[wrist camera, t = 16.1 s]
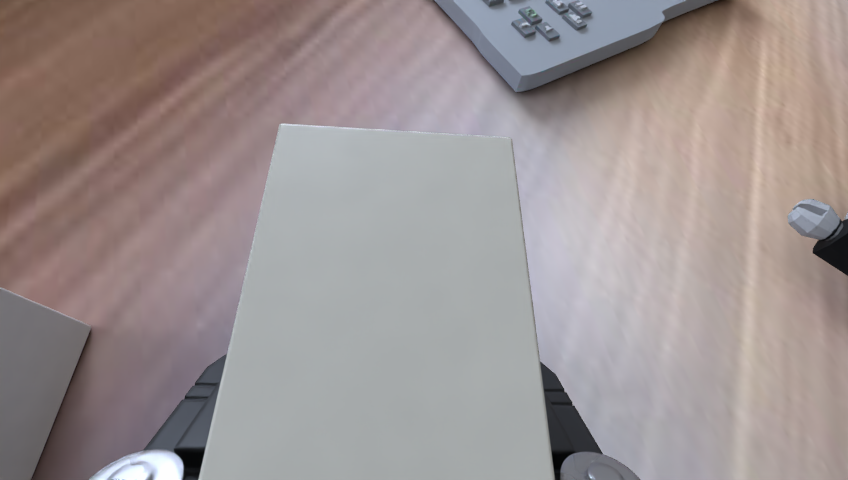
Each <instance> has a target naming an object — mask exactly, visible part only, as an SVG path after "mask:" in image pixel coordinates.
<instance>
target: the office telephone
mask: <svg viewBox="0 0 848 480" xmlns="http://www.w3.org/2000/svg"><path fill="white" fill-rule="evenodd" d="M435 1H436V2H437V4H438V5H439V6H440V7H441V8H442V9H443V10H444V11H445V12H446V13H447V14H448V15H449V16H450V17H451V19H452V20H453V21H454V22H455V23H456V24H457V25H458V26H459V27H460V28H461V29H462V31H463V32H464V33H465V34H466V35H467V36H468V37H469V38H470V39H471V41H472V42H473V43H474V44H475V46H476V47H477V49H478V50H479V52H480V53H481V54H482V55H483V57H484V58H485V59H486V60H487V61H488V62H489V63H490V64H491V65H492V66H493V67H494V68H495V70H496V71H497V72H498V73H499V74H500V75H501V76H502V77H503V78H504V79H505V80H506V82H507V83H508V84H509V85H510V86H511V87H512V88H513V89H514V90H515V91H516V92H522V91H527V90H530V89H533V88H536V87H538V86H541V85H543V84H546V83H548V82H550V81H553V80H555V79H558V78H560V77H562V76H565V75H567V74H570V73H572V72H574V71H577V70H579V69H582V68H584V67H587V66H589V65H591V64H594V63H596V62H599V61H601V60H603V59H606V58H608V57H611V56H613V55H616V54H618V53H620V52H623V51H625V50H628V49H630V48H632V47H635V46H637V45H640V44H642V43H644V42H645V41H647V40H649V39H651V38H652V37H653V36H654V35H655V33H656V32H657V30H658V29H659V27H660V25H661V24H662V22H664V21H667V20H669V19H671V18H674V17H676V16H679V15H681V14H684V13H686V12H688V11H691V10H694V9H696V8H699V7H701V6H704V5H707V4H709V3H712V2H714V1H718V0H435Z"/></svg>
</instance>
